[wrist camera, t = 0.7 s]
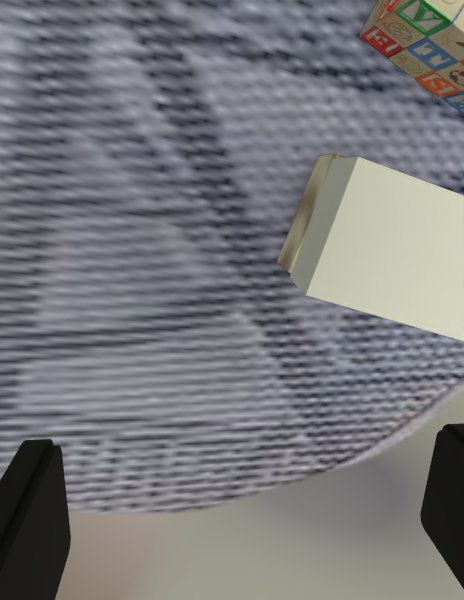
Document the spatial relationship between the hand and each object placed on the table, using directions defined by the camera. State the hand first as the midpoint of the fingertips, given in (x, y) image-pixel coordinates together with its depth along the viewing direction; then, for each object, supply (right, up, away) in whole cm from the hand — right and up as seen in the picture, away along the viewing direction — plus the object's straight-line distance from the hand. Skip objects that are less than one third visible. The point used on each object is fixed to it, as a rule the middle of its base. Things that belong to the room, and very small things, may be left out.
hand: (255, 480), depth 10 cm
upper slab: (+17, +8, +26) cm, 32 cm away
